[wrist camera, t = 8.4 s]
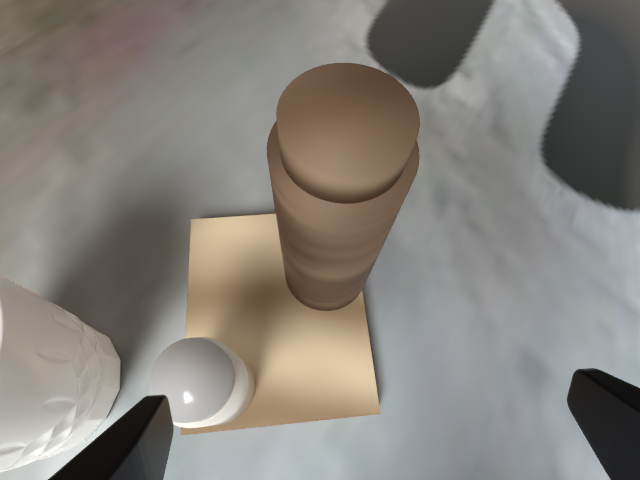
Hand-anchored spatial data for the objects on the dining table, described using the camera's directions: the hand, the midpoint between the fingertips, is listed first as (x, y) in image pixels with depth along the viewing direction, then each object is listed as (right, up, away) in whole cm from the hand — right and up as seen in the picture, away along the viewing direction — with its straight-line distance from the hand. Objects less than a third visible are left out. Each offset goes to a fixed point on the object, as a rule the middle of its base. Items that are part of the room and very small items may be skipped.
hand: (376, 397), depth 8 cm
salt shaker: (-6, -4, +11) cm, 14 cm away
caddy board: (-4, -1, +14) cm, 15 cm away
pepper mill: (-1, +2, +14) cm, 14 cm away
